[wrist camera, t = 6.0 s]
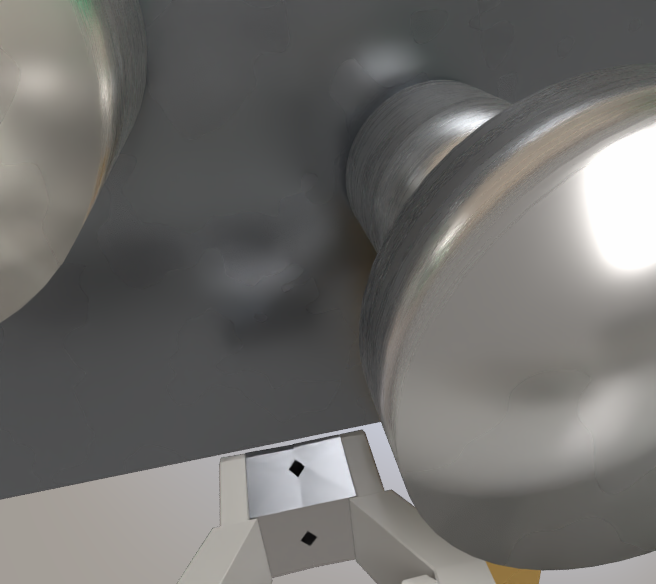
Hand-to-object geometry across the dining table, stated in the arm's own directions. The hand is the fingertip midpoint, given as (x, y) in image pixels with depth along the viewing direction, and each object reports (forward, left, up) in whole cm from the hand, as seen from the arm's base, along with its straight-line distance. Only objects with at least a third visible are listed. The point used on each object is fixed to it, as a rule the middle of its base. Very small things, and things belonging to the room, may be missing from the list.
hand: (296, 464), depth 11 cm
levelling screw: (-4, -2, -2) cm, 5 cm away
